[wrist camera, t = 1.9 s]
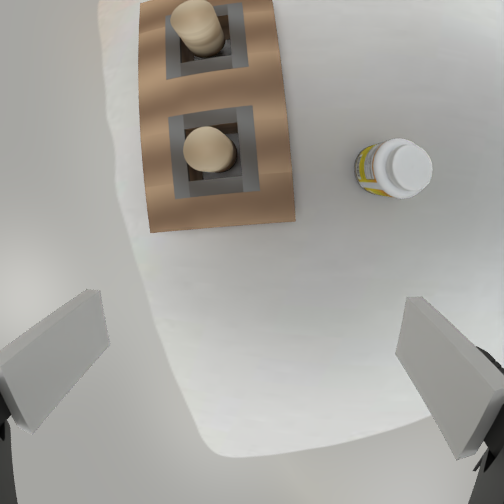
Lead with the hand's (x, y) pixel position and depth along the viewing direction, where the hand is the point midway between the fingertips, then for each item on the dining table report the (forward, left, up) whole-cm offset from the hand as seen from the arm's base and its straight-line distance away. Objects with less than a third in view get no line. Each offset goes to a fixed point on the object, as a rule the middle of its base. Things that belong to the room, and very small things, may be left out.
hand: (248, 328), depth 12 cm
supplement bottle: (-14, +5, -23) cm, 27 cm away
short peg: (-3, -9, -20) cm, 22 cm away
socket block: (-8, -13, -23) cm, 28 cm away
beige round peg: (-12, -17, -18) cm, 28 cm away
